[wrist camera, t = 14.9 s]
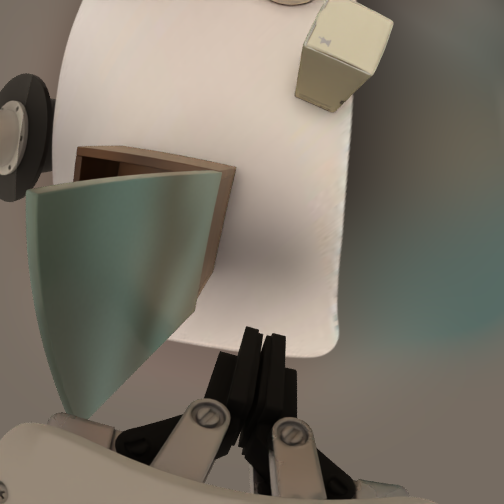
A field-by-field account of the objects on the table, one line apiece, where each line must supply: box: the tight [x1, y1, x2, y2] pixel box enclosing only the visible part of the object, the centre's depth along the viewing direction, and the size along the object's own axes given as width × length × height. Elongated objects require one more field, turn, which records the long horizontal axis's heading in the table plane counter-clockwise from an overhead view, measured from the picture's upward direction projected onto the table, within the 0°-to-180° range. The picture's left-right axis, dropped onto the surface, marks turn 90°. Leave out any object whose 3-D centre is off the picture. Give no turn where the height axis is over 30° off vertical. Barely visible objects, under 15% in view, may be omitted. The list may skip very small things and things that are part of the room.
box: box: [295, 0, 393, 112], centre depth 17 cm, size 5×4×13 cm
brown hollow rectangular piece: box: [73, 146, 236, 298], centre depth 25 cm, size 14×12×8 cm
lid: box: [26, 170, 222, 420], centre depth 15 cm, size 14×12×1 cm
